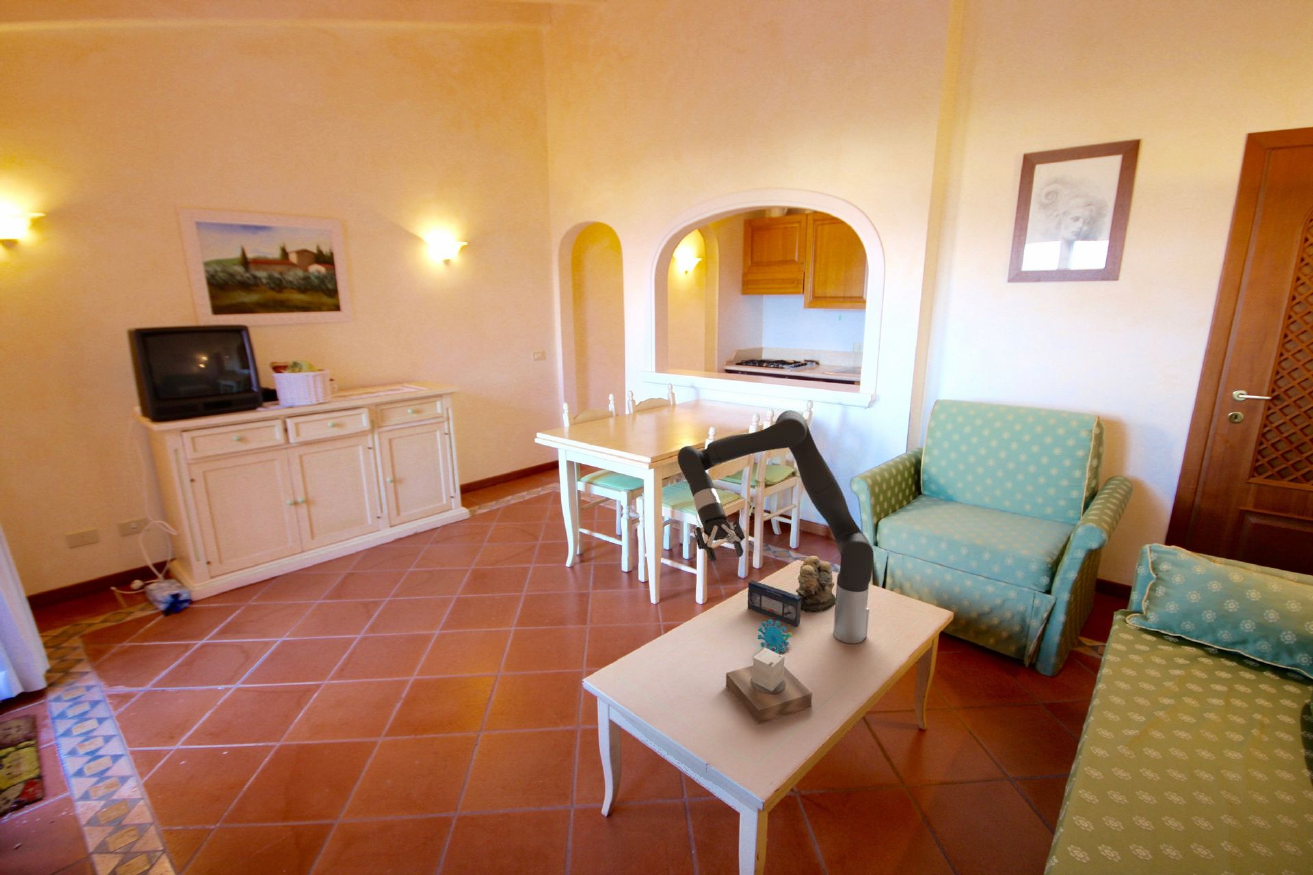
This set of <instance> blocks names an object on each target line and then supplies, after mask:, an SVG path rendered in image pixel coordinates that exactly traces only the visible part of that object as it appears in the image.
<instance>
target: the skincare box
mask: <svg viewBox="0 0 1313 875" xmlns="http://www.w3.org/2000/svg"><path fill="white" fill-rule="evenodd" d="M767 648H768V647H763V649H762V650H761V651H760V652H758V653H757V654H756V655H754V657H753V659H752V666H753V676H752V681H753V682H754V683H756V684H758V685H760V686H762V687H764V688H766V689H768V690H770V691H773V690H774V689H775V688H776V687H777V686H778V685H779V684H780V683H781V682H782V681H783V678H784V667H785V656H784V655H782V654H779V653H778V654H777V653H775V652H774V650H769V649H767Z"/></svg>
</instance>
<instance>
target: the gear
mask: <svg viewBox="0 0 1313 875" xmlns="http://www.w3.org/2000/svg"><path fill="white" fill-rule="evenodd" d="M772 624H774V626H773V625H772ZM761 625H762V626H759V627H758V628H757V631H758V632H760V633H761V634H760V633H759V634H758V635H757V639H758V640H764V641H762V642H760V646H761V648H765V646H770V647H766V648H767V649H769V650H771V651H773V652H775V653H777V654H779V653H780V652H781V653H783V652H785V651H786V648H785V647H788V646H789V645H790V643H789V641H788V640H789V638H791V637H792V636H793V633H792V632H789V633H783V632H785V631H787V629H786V626H785V625H784V626H781V628H778V627H779V626H780V625H781V621H778V620H776V621H775V623H774V619H768V621H762V622H761ZM767 625H768V626H767ZM783 645H784V646H785V647H784V646H783ZM779 647H780V649H779ZM773 648H774V650H773ZM779 651H780V652H779Z"/></svg>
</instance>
